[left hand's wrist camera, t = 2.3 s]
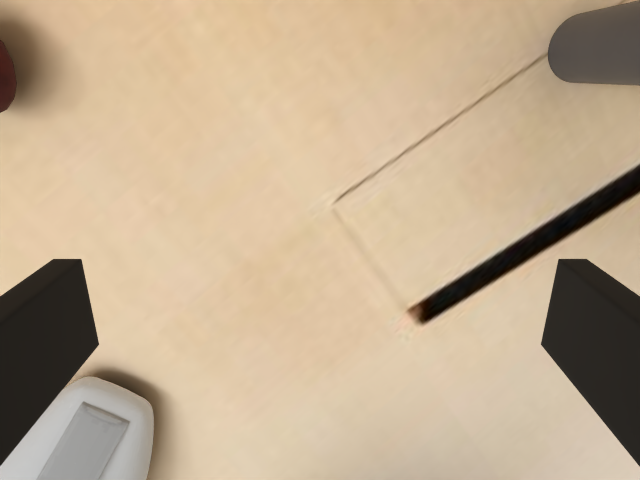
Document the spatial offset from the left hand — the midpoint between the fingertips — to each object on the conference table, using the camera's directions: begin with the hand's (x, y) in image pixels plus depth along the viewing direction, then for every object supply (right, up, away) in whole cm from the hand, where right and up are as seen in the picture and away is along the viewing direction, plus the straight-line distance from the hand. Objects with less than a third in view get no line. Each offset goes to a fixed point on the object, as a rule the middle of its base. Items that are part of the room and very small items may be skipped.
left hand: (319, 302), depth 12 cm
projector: (-27, -22, +38) cm, 52 cm away
